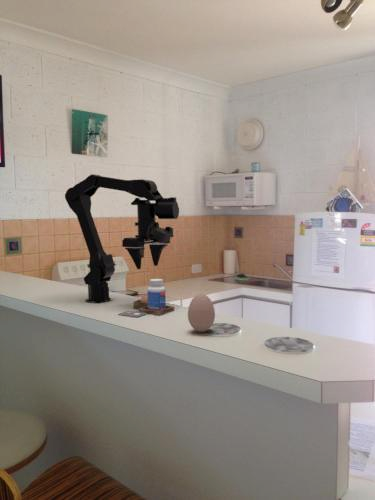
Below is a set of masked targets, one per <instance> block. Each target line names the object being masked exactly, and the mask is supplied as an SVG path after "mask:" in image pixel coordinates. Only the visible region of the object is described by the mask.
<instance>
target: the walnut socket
mask: <svg viewBox="0 0 375 500" xmlns="http://www.w3.org/2000/svg"><path fill="white" fill-rule="evenodd" d="M174 311H175V306H172V305H166V309H164V310H161V311H156V310H148V306H146V307H143V308H140V309H138V312H143V313H147V314H146V315H153V316H159V317H160V316H163V315H165V314H168V313H170V312H171V313H172V312H174Z"/></svg>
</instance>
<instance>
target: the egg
mask: <svg viewBox="0 0 375 500" xmlns="http://www.w3.org/2000/svg"><path fill="white" fill-rule="evenodd" d="M215 311H216V310H215V306H214V304H213V302H212V300H211V299H210V297H209V296H207V294H204V293H198V294H196V295H195V296H193V298H192V299H191V301H190V303H189V306H188V310H187V319H188V322H189V324H190V326H191V328H192V329H193V330H195V331H196V332H199V333H204V332H206V331H208V330H210V328H211V327H212V326H213V325H214V322H215V317H216V312H215Z"/></svg>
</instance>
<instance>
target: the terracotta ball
mask: <svg viewBox="0 0 375 500" xmlns="http://www.w3.org/2000/svg"><path fill="white" fill-rule="evenodd" d="M139 300H140V302H144V303H148V294H144V295H142V296H141V298H140V299H139Z"/></svg>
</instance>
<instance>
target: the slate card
mask: <svg viewBox="0 0 375 500" xmlns="http://www.w3.org/2000/svg"><path fill="white" fill-rule="evenodd" d="M146 315H148V314H147V313H143V312H139V311H135V310H127V311H123V312H120V313H118V316H122V317H129V318H139V317H140V318H141V317H143V316H146Z"/></svg>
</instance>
